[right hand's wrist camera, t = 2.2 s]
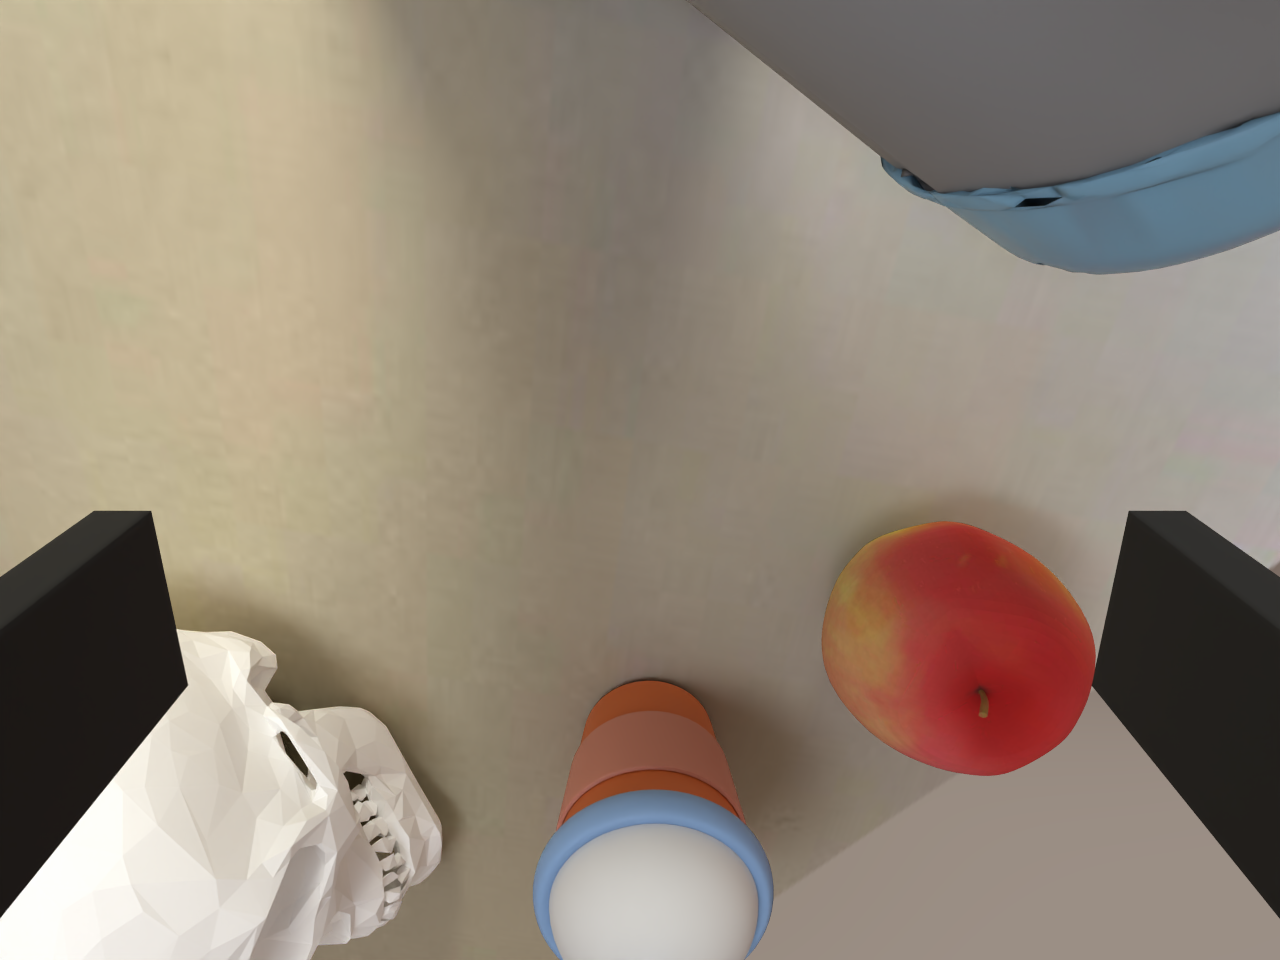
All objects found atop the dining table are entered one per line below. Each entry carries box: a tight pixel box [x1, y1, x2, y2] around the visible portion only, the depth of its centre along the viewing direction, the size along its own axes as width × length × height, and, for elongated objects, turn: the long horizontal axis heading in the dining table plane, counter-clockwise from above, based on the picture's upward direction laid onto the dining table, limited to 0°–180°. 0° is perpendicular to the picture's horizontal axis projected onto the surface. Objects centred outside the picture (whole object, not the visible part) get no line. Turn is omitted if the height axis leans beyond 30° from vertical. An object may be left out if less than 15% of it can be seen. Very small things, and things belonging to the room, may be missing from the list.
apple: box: [822, 521, 1096, 776], centre depth 36 cm, size 10×10×10 cm
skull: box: [0, 629, 442, 960], centre depth 36 cm, size 13×22×16 cm, turn 57°
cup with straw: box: [533, 681, 773, 960], centre depth 35 cm, size 9×9×18 cm
